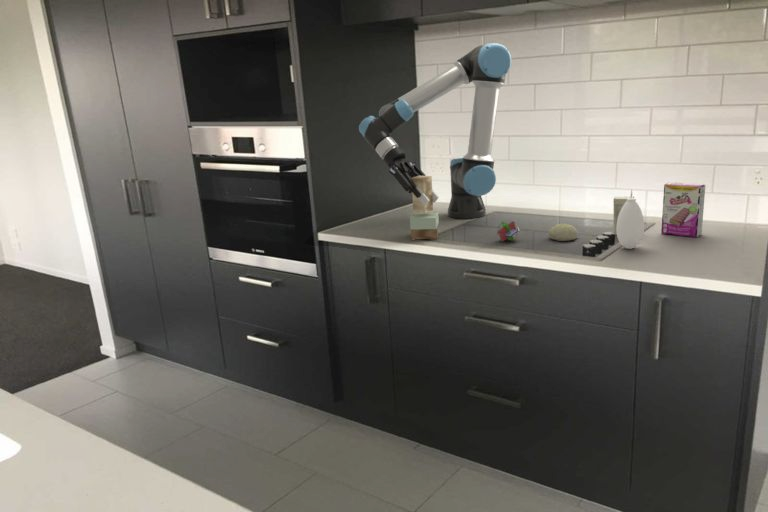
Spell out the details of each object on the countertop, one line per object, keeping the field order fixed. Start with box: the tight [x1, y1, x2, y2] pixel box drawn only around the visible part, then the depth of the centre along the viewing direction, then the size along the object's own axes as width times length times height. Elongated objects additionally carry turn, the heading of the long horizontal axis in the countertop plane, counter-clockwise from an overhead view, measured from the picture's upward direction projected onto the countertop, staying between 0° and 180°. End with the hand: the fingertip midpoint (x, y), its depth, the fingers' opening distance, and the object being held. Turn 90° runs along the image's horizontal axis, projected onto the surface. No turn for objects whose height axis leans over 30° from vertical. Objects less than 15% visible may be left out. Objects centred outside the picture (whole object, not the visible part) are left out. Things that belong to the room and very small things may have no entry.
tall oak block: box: [411, 175, 434, 213], centre depth 218 cm, size 5×5×12 cm
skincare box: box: [613, 196, 635, 236], centre depth 206 cm, size 6×4×12 cm
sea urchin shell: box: [548, 223, 578, 242], centre depth 206 cm, size 9×8×8 cm
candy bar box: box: [660, 181, 706, 238], centre depth 199 cm, size 11×5×16 cm, turn 47°
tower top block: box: [409, 211, 440, 231], centre depth 220 cm, size 9×9×4 cm
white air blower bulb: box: [616, 189, 645, 250], centre depth 188 cm, size 8×8×18 cm
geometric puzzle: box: [496, 220, 521, 243], centre depth 208 cm, size 7×7×8 cm
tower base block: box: [410, 225, 439, 240], centre depth 221 cm, size 9×9×4 cm
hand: (431, 201), depth 216 cm, fingers open, 5 cm apart
